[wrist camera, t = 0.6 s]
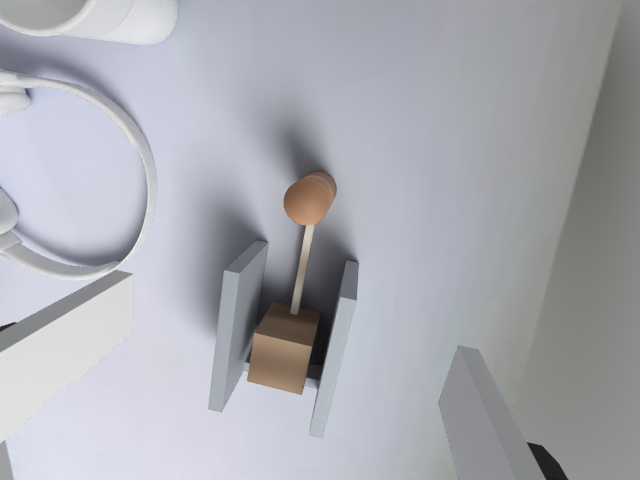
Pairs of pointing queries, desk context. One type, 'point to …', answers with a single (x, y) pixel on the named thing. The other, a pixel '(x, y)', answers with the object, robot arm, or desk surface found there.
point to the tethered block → (292, 321)
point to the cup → (93, 19)
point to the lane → (241, 323)
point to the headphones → (5, 98)
